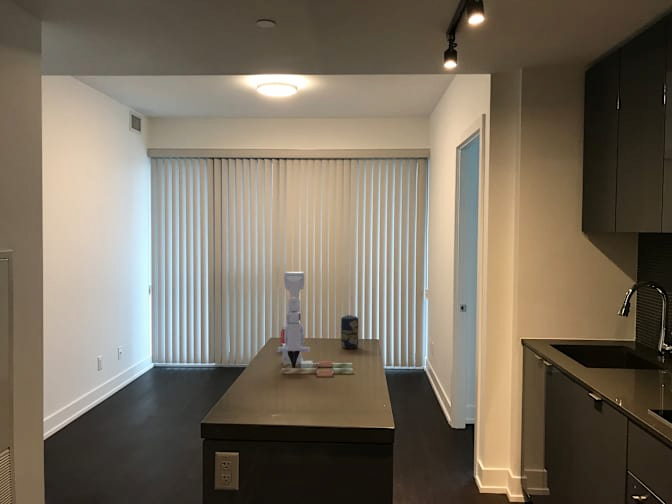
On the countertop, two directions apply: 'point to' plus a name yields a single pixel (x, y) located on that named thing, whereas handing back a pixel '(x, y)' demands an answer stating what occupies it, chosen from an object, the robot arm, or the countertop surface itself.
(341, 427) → the countertop surface
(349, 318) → the canister
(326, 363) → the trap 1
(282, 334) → the soda can
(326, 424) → the countertop surface
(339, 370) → the track
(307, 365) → the block
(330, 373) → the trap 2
